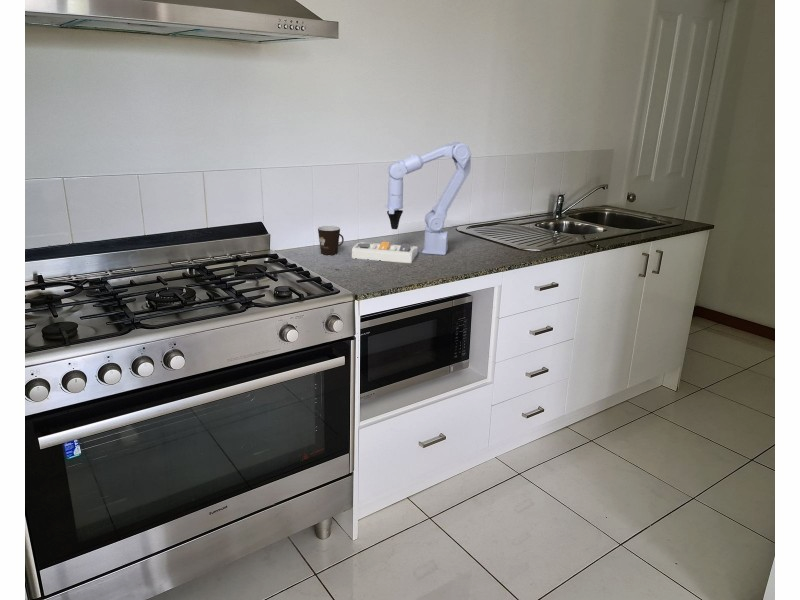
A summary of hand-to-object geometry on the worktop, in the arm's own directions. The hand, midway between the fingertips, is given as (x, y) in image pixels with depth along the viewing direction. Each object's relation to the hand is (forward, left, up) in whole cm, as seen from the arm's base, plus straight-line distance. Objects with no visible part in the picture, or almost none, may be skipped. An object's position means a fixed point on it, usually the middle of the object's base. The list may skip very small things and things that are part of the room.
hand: (394, 228), depth 227 cm
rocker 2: (-6, +9, -6) cm, 13 cm away
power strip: (+2, +7, -9) cm, 12 cm away
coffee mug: (+23, +11, -10) cm, 27 cm away
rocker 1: (+10, +10, -6) cm, 15 cm away
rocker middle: (+2, +9, -6) cm, 11 cm away
